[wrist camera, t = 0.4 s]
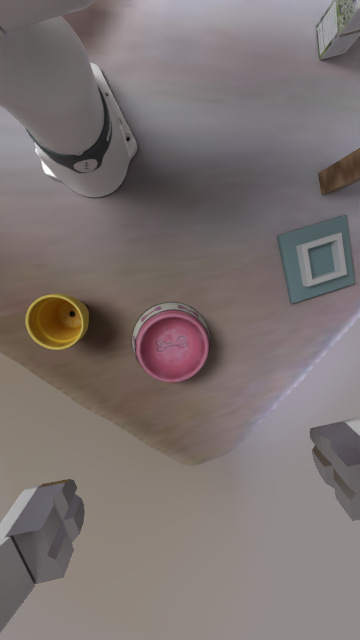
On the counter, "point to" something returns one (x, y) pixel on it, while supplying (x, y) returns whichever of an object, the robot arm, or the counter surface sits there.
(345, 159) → the walnut block
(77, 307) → the plant pot
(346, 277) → the socket plate
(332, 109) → the counter surface
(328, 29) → the syrup box
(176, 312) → the dog bowl
